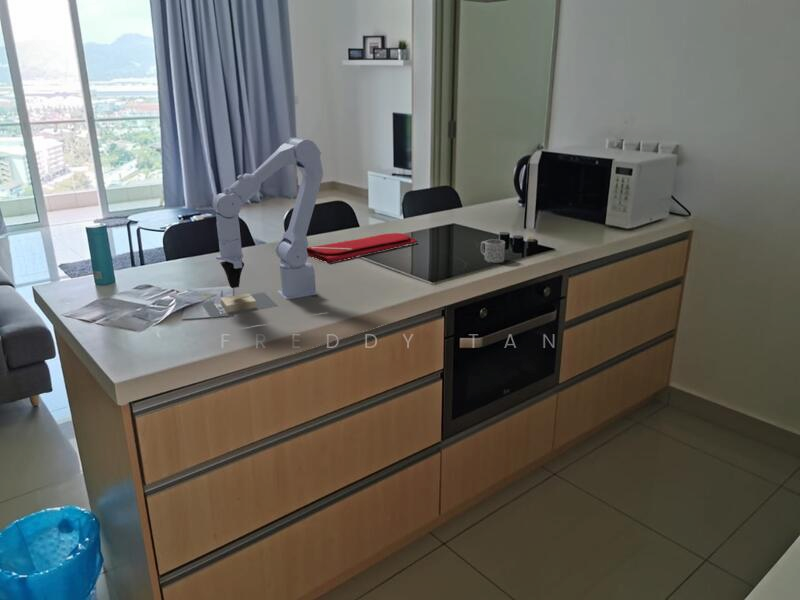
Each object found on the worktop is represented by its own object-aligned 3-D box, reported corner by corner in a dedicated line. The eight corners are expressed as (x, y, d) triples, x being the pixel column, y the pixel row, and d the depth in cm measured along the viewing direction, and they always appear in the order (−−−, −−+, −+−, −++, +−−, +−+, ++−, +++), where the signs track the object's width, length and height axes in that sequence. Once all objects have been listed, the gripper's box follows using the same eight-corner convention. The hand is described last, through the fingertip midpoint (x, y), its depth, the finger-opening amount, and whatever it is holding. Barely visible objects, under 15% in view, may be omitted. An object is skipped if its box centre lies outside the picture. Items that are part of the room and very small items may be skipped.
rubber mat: (264, 293, 175) (264, 292, 175) (278, 307, 164) (277, 305, 164) (201, 304, 167) (201, 302, 167) (211, 319, 156) (211, 317, 156)
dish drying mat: (418, 245, 229) (418, 235, 227) (328, 265, 204) (328, 255, 203) (392, 237, 240) (392, 228, 239) (304, 256, 215) (303, 246, 214)
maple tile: (249, 293, 168) (256, 300, 162) (249, 300, 169) (256, 307, 163) (220, 298, 164) (226, 305, 159) (221, 305, 165) (227, 312, 159)
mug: (508, 260, 206) (509, 242, 204) (494, 264, 203) (495, 245, 200) (487, 254, 214) (488, 236, 212) (473, 257, 210) (474, 239, 208)
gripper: (208, 234, 164) (214, 282, 169) (220, 246, 152) (226, 297, 157) (234, 232, 167) (239, 278, 172) (248, 243, 155) (252, 292, 160)
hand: (234, 287), depth 165 cm, fingers closed
